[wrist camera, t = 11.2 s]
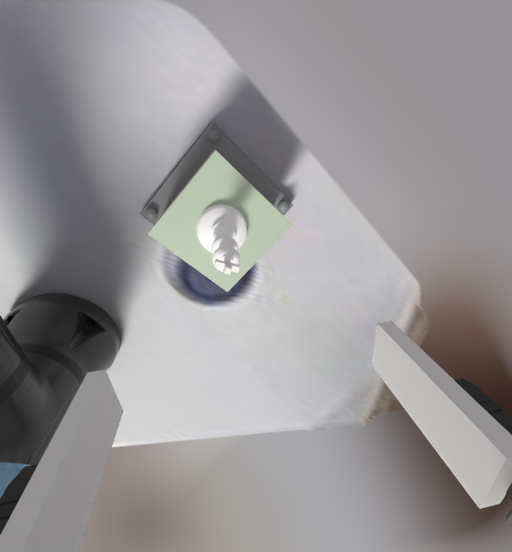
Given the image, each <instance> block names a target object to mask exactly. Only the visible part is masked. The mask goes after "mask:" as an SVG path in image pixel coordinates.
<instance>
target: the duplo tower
mask: <svg viewBox="0 0 512 552" xmlns="http://www.w3.org/2000/svg"><path fill="white" fill-rule="evenodd" d="M220 204H223V205H229V206H232V207H234V208H235V209H237V210H238V211H239V212H240V213H241V214H242V215H243V217H244V218H245V221H246V224H247V235H246V239H245V241H244V243H243V245H242V246H241V247H240V248H239V249H238V253H239V255H240V263H239V265H240V269H239V272H238V273H236V272H232V271H231V273H230V275H229V274H225V273H224V272H222V271H219V270H218V269H216V268H215V267H214V265H213V262H212V256H213V254H212V252H210V251H208V250H207V249H206V248H204V247H203V245H202V244H201V243H200V241H199V238H198V235H197V222H198V219H199V217H200V216H201V214H202V213H203V212H204V211H205V210H206V209H208V208H209V207H211V206H214V205H220ZM292 206H293V204H292V203H291V202H290V201H289V200H288V199H287V198H286V197H285V196H284V195H283V194H282V193H281V192H280V191H279V190H278V189H277V188H276V187H275V186H274V185H273V184H272V183H271V181H270V180H269V179H268V178H267V177H266V176H265V175H264V174H263V173H262V172H261V171H260V170H259V169H258V168H257V167H256V166H255V165H254V164H253V163H252V162H251V161H250V160H249V159H248V158H247V157H246V156H245V155H244V154H243V153H242V152H241V151H240V150H239V149H238V148H237V147H236V146H235V145H234V144H233V143H232V142H231V141H230V140H229V139H228V138H227V137H226V136H225V135H224V134H223V133H222V132H221V131H220V130H219V128H218V127H217V126H216V125H215V124H214V123H213V122H212V123H211V124H210V125H209V126H208V128H207V129H206V130H205V132H204V133H203V134H202V135H201V137H200V138H199V139H198V140H197V142H196V143H195V144H194V146H193V147H192V148H191V149H190V151H189V152H188V153H187V155H186V156H185V157H184V158H183V160H182V161H181V162H180V164H179V165H178V166H177V167H176V169H175V170H174V171H173V172H172V174H171V175H170V176H169V178H168V179H167V180H166V181H165V183H164V184H163V185H162V187H161V188H160V189H159V190H158V192H157V193H156V194H155V196H154V197H153V198H152V199H151V201H150V202H149V203H148V204H147V206H146V207H145V208H144V210H143V211H142V212H141V213H140V214H141V215H142V216H144V217H145V218H146V219H148V220H149V221H150V222H152V223H153V224H154V226H153V228H152V229H151V231H150V232H149V233H148V235H150V236H151V237H152V238H154V239H155V240H156V241H158V242H159V243H161V244H162V245H163V246H165V247H166V248H168V249H169V250H170V251H172V252H173V253H174V254H176V255H177V256H179V257H180V258H181V259H183V260H184V261H185V262H187V263H188V264H190V265H191V266H192V267H194V268H195V269H196V270H198V271H199V272H201V273H202V274H203V275H205V276H206V277H207V278H209V279H210V280H212V281H213V282H214V283H216V284H217V285H219V286H220V287H221V288H223V289H224V290H225V291H227V292H228V291H229V290H230V289H231V288H232V287H233V286H234V285H235V284H236V283H237V282H238V281H239V280H240V279H241V277H242V276H243V275H244V274H245V273H246V272H247V271H248V270H249V269H250V268H251V267H252V266H253V265H254V264H255V263H256V262H257V261H258V260H259V259H260V258H261V257H262V255H263V254H264V253H265V252H266V251H267V250H268V249H269V248H270V247H271V246H272V245H273V244H274V243H275V242H276V241H277V240H278V239H279V238H280V237H281V236H282V235H283V234H284V232H285V231H286V230H287V229H288V228H289V227H290V226H291V225H292V224H291V223H290V222H289V221H288V220H287V219H286V218H285V217H284V216H283V215H284V214H285V213H286V212H287V211H288V210H289V209H290V208H291V207H292Z"/></svg>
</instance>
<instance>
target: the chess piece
mask: <svg viewBox="0 0 512 552" xmlns="http://www.w3.org/2000/svg"><path fill="white" fill-rule="evenodd" d="M197 235H198V238H199V241H200V243H201V244H202V245H203V247H204V248H206V249H207V250H208V251H210V252H212V254H213V256H212V262H213V265H214V267H215V268H216V269H218V270H219V271H222V272H224V273H225V274H229V275H230V273H231V271H232V272H236V273H238V272H239V269H240V265H239V263H240V255H239V253H238V249H239V248H240V247H241V246H242V245H243V243H244V241H245V239H246V235H247V224H246V221H245V218H244V217H243V215H242V214H241V213H240V212H239V211H238V210H237V209H235V208H234V207H232V206H229V205H223V204H220V205H214V206H211V207H209V208H208V209H206V210H205V211H204V212H203V213H202V214H201V216H200V217H199V219H198V222H197Z"/></svg>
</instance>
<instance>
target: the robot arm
mask: <svg viewBox="0 0 512 552" xmlns="http://www.w3.org/2000/svg"><path fill="white" fill-rule="evenodd" d="M119 347H120V335H119V331H118V329H117V326H116V324H115V323H114V321H113V320H112V319H111V317H110V316H109V315H108V314H107V313H106V312H105V311H103V310H102V309H101V308H99V307H98V306H96V305H95V304H93V303H91V302H89V301H87V300H84V299H82V298H79V297H75V296H71V295H65V294H45V295H40V296H36V297H33V298H30V299H28V300H26V301H24V302H22V303H21V304H20V305H18V306H17V307H16V308H15V309H14V310H12V311H11V312H10V313H9V314H8V315H7V316H6V317H5V318H4V319H2V317H1V316H0V552H78V550H79V547H80V543H81V540H82V537H83V534H84V531H85V528H86V525H87V522H88V518H89V516H90V512H91V509H92V506H93V503H94V500H95V497H96V494H97V491H98V488H99V485H100V481H101V478H102V475H103V472H104V469H105V466H106V463H107V459H108V457H109V454H110V450H111V447H112V444H113V441H114V438H115V435H116V432H117V429H118V426H119V423H120V419H121V416H122V413H123V409H122V407H121V405H120V402H119V400H118V398H117V395H116V393H115V391H114V388H113V386H112V384H111V382H110V379H109V377H108V375H107V372H106V371H107V370H108V369H109V368H110V366H111V365H112V363H113V362H114V360H115V357H116V355H117V353H118V351H119ZM372 366H373V367H374V369H375V370H376V371H377V373H378V374H379V375H380V377H381V378H382V379H383V381H384V382H385V383H386V385H387V386H388V387H389V389H390V390H391V391H392V393H393V394H394V395H395V397H396V398H397V399H398V401H399V402H400V403H401V405H402V406H403V407H404V409H405V410H406V411H407V412H408V414H409V415H410V417H411V418H412V419H413V421H414V422H415V423H416V425H417V426H418V427H419V428H420V430H421V431H422V433H423V434H424V435H425V436H426V438H427V439H428V440H429V442H430V443H431V444H432V446H433V447H434V449H435V450H436V451H437V453H438V454H439V455H440V457H441V458H442V459H443V461H444V462H445V463H446V465H447V466H448V467H449V469H450V470H451V471H452V472H453V474H454V475H455V477H456V478H457V479H458V480H459V482H460V483H461V485H462V486H463V487H464V489H465V490H466V491H467V493H468V494H469V495H470V497H471V498H472V499H473V500H474V502H475V503H476V504H477V506H478V507H479V508H484V507H488V506H492V505H496V504H499V503H501V501H502V500H503V498H504V496H505V494H506V493H507V494H508V496H509V497H510V498H511V499H512V417H511V416H509V415H508V414H507V413H506V412H505V411H503V410H502V408H501V407H499V406H498V405H497V404H496V403H495V402H492V400H491V399H490V398H489V397H488V396H487V395H486V394H485V393H484V392H483V391H481V390H480V389H479V388H478V387H476V386H475V385H473V384H471V383H469V382H467V381H466V380H464V379H459V380H453V379H452V378H451V377H450V376H449V375H448V374H447V373H446V372H445V371H444V370H443V369H441V367H439V366H438V365H437V364H436V363H435V362H434V361H433V360H432V359H431V358H430V357H429V356H428V355H426V353H424V351H423V350H422V349H420V348H419V347H418V346H417V345H416V344H415V343H414V342H413V341H412V340H411V339H410V338H409V337H408V336H407V335H406V334H405V333H404V332H403V331H402V330H400V329H399V328H398V327H397V326H396V325H395V324H394V323H393V322H392V321H390V322H384V323H378V324H377V331H376V338H375V345H374V352H373V359H372ZM506 523H508V524H511V523H512V508H511V509H510V511H509V512H508V514H507V515H506Z"/></svg>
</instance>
